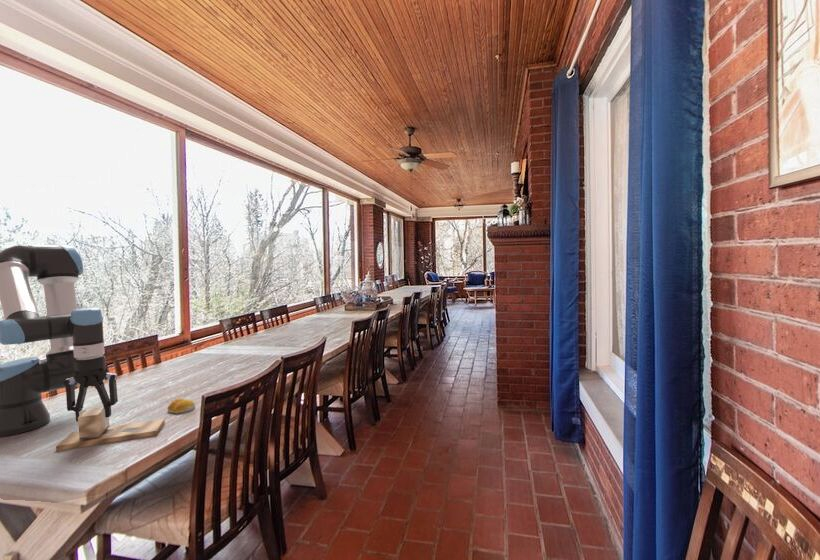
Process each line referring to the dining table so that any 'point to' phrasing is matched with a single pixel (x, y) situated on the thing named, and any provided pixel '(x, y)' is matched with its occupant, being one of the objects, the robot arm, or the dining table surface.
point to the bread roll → (180, 406)
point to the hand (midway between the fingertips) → (94, 428)
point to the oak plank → (114, 434)
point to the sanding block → (90, 423)
